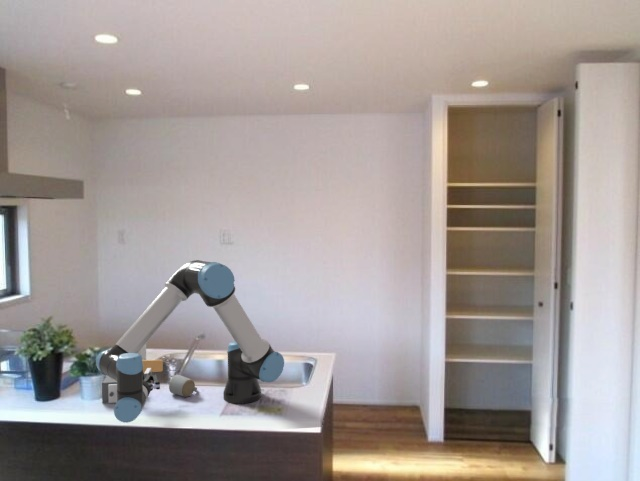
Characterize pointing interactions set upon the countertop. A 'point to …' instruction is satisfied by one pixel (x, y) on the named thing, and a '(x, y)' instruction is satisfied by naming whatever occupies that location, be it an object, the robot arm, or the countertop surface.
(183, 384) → the ceramic mug
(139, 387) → the robot arm
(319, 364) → the countertop surface
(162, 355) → the countertop surface
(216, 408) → the countertop surface
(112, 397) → the side door
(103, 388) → the box
